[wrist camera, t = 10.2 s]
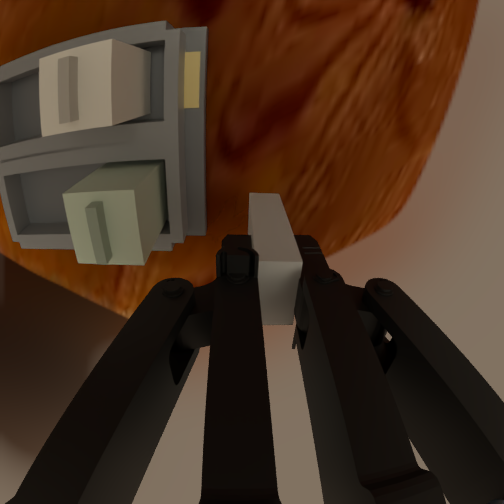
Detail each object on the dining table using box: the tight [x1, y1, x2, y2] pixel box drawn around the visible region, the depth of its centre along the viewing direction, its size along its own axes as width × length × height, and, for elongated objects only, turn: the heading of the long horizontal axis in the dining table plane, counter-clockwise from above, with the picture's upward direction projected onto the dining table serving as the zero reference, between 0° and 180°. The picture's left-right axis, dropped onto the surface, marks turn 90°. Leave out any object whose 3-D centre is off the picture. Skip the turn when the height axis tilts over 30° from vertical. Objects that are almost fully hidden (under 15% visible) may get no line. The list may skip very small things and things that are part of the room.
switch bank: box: [0, 21, 208, 251], centre depth 16 cm, size 14×17×3 cm
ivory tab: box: [39, 39, 151, 137], centre depth 12 cm, size 4×4×7 cm
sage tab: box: [62, 159, 168, 265], centre depth 16 cm, size 4×4×7 cm
